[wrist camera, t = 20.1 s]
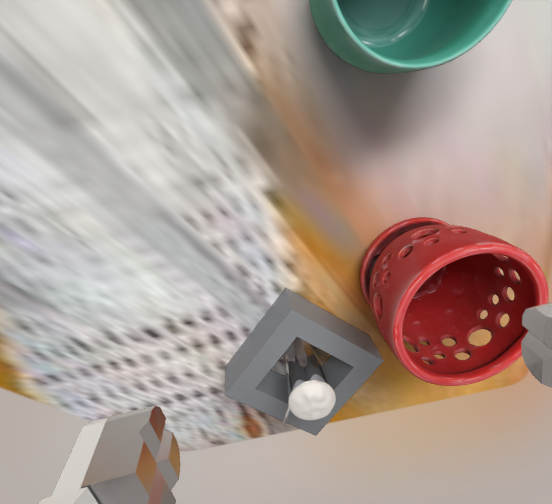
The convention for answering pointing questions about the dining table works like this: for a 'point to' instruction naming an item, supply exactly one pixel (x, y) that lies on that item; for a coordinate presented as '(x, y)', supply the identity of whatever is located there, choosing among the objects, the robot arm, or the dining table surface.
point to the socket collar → (275, 341)
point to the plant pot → (449, 297)
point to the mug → (404, 30)
